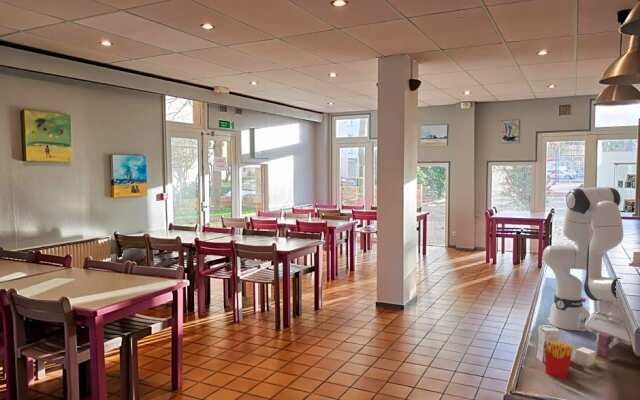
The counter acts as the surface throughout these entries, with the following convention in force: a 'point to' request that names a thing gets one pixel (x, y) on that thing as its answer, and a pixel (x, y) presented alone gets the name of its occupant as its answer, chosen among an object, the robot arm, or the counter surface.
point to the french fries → (558, 359)
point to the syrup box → (545, 340)
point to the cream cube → (585, 356)
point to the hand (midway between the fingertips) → (603, 345)
